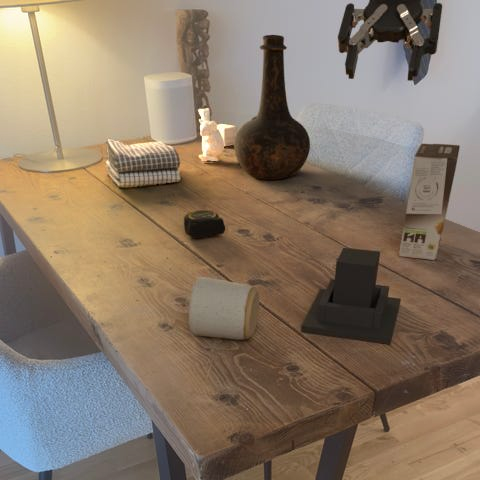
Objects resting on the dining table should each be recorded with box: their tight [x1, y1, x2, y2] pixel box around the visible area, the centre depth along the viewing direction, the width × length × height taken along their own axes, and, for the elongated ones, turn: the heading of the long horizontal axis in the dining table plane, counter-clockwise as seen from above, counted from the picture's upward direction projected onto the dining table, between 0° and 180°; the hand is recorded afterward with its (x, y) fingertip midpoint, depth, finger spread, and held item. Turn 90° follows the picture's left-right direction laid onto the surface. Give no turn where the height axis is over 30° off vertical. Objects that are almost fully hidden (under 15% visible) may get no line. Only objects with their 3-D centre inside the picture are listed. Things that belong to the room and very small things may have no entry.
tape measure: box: [183, 209, 226, 239], centre depth 105 cm, size 7×7×4 cm
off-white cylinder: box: [188, 276, 260, 341], centre depth 76 cm, size 11×8×8 cm
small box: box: [217, 123, 238, 146], centre depth 160 cm, size 6×6×5 cm
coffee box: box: [398, 143, 461, 261], centre depth 94 cm, size 9×6×16 cm
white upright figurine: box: [197, 107, 225, 162], centre depth 144 cm, size 8×7×12 cm
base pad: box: [300, 278, 402, 346], centre depth 79 cm, size 12×12×4 cm
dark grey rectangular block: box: [333, 247, 381, 308], centre depth 77 cm, size 5×5×8 cm
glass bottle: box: [233, 34, 311, 181], centre depth 128 cm, size 18×18×28 cm
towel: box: [105, 138, 182, 189], centre depth 134 cm, size 15×18×8 cm
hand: (380, 75), depth 82 cm, fingers open, 8 cm apart
